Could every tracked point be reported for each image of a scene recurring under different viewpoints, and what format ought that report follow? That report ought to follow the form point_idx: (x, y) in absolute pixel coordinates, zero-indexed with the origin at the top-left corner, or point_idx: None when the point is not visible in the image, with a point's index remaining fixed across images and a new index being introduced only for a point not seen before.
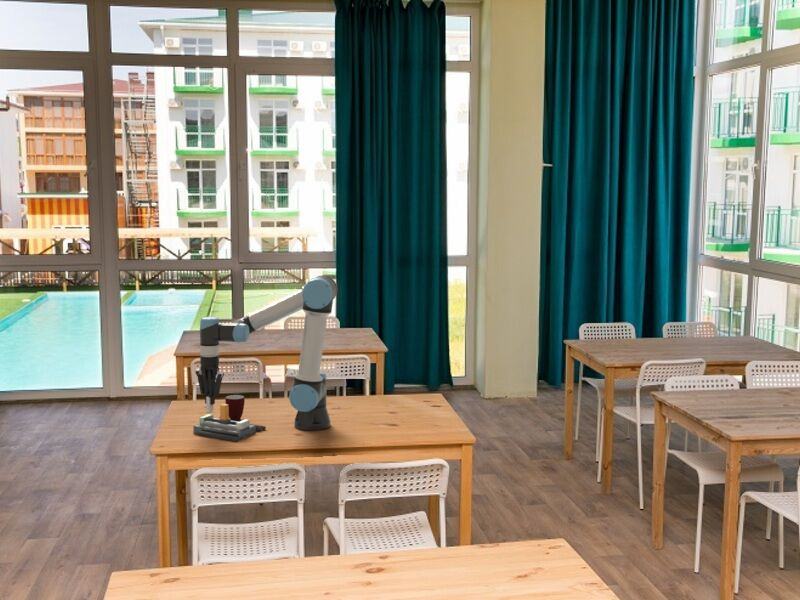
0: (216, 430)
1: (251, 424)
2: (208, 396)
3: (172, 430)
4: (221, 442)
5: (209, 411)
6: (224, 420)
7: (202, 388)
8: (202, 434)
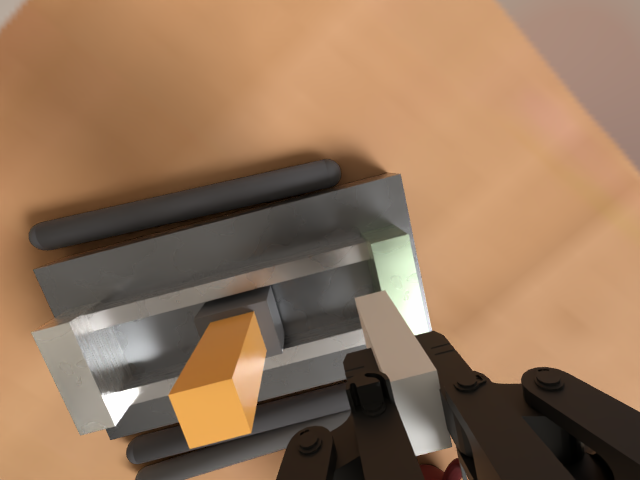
0: (210, 222)
1: (221, 463)
2: (383, 373)
3: (534, 122)
4: (94, 158)
5: (356, 303)
6: (209, 315)
7: (604, 448)
8: (292, 167)
